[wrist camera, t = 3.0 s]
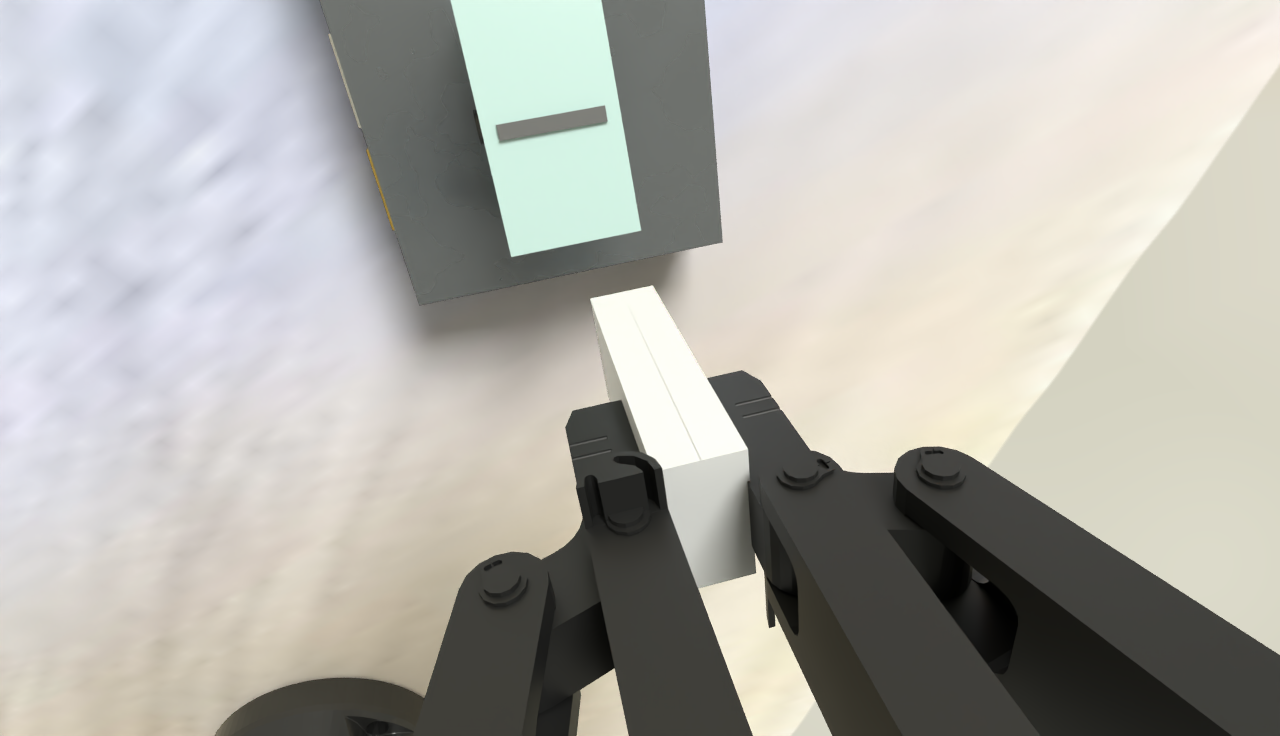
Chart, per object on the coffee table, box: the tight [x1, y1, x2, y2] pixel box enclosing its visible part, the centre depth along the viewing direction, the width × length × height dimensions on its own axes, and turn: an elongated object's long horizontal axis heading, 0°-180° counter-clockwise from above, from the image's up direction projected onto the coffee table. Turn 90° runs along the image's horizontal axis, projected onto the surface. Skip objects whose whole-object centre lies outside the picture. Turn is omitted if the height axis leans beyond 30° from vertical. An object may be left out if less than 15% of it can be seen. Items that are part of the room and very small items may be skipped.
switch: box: [451, 0, 641, 257], centre depth 24 cm, size 5×8×2 cm, turn 8°
